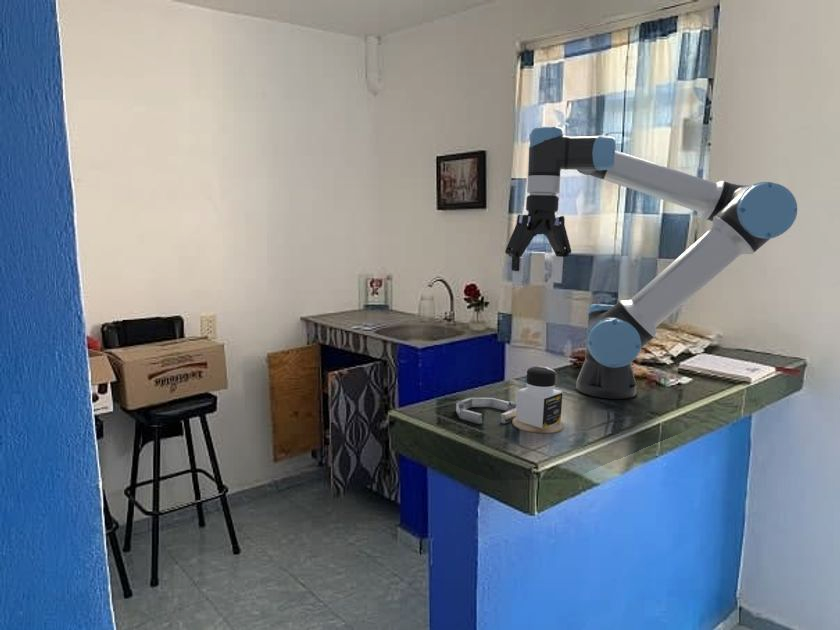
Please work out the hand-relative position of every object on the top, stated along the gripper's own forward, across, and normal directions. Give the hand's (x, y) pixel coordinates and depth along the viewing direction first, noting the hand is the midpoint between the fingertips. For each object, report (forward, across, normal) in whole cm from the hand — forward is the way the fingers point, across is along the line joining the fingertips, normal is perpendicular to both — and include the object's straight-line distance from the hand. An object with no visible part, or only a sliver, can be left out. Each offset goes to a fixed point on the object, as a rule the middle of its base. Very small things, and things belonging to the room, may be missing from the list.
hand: (537, 283), depth 151 cm
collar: (+29, +19, +4) cm, 34 cm away
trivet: (+29, +14, +15) cm, 35 cm away
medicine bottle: (+28, +13, +15) cm, 35 cm away
